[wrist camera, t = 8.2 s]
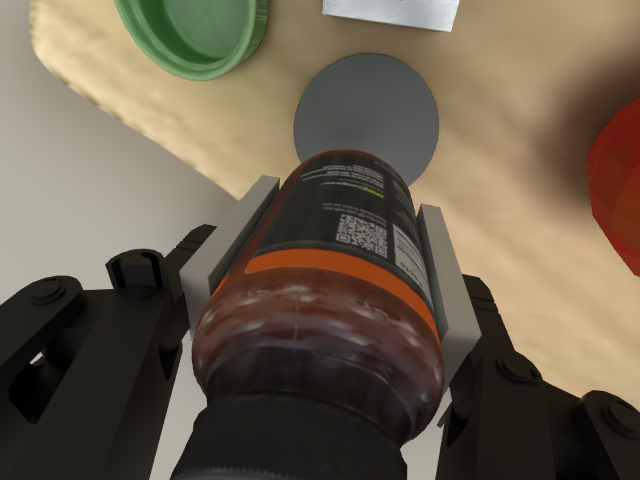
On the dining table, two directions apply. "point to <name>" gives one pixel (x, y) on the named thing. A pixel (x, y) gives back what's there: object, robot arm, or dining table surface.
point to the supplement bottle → (319, 335)
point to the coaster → (369, 113)
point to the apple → (618, 183)
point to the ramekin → (195, 33)
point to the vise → (397, 12)
